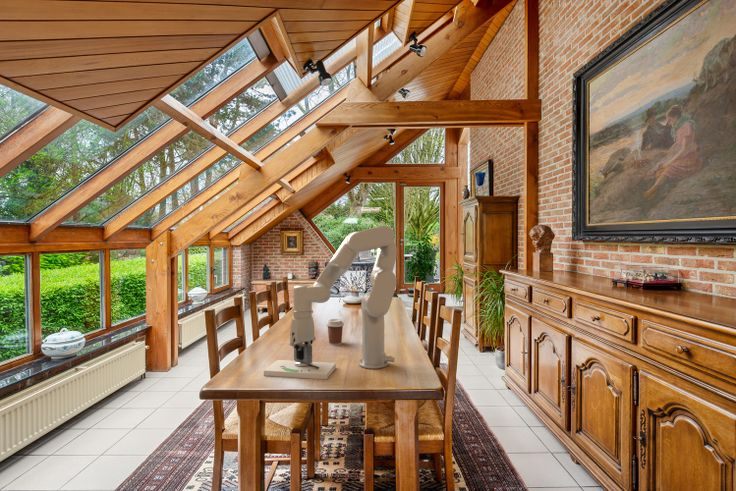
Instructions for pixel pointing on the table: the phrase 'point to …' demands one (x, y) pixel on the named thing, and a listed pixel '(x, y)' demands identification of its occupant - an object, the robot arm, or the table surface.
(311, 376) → the dial board
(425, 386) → the table surface
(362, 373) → the table surface
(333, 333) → the coffee cup
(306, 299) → the robot arm
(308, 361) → the grey boxy piece
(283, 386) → the table surface
